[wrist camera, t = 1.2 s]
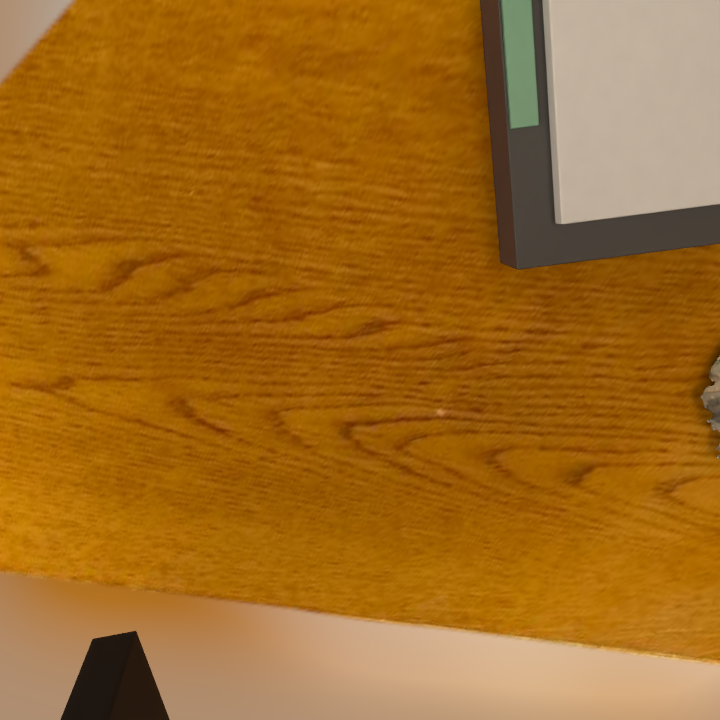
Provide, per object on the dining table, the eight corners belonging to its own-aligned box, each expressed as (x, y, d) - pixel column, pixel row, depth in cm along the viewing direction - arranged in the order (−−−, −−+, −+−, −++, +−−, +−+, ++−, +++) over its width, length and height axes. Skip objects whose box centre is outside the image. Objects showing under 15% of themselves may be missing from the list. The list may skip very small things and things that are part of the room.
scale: (465, -183, 24) (485, -248, 21) (910, -243, 24) (1006, -317, 21) (500, 263, 28) (522, 272, 24) (886, 213, 28) (964, 215, 24)
